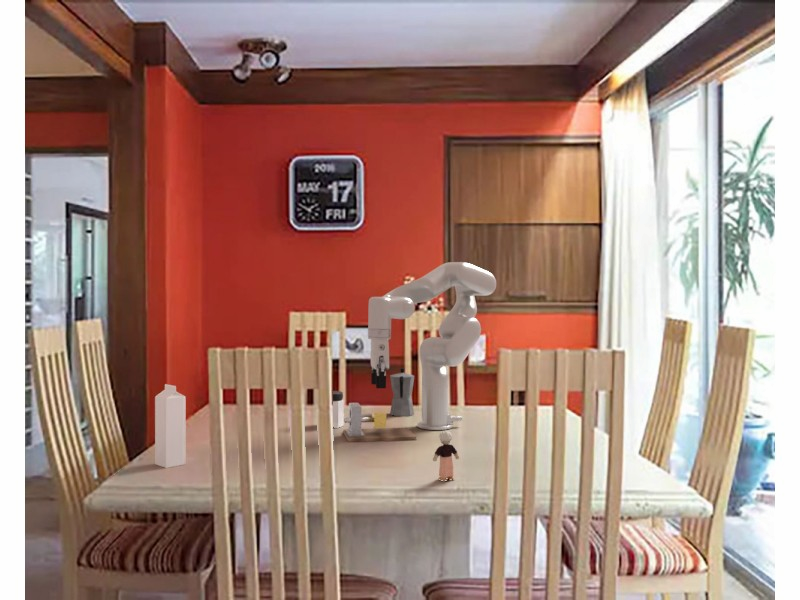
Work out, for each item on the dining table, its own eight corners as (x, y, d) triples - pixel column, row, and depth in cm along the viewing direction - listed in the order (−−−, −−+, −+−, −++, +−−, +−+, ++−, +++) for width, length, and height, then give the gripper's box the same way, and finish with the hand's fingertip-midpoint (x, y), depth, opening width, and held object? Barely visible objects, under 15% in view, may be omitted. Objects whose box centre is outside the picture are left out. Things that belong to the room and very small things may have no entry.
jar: (347, 426, 256) (348, 392, 256) (328, 429, 251) (328, 394, 251) (333, 423, 263) (333, 389, 263) (314, 425, 258) (314, 391, 258)
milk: (174, 460, 206) (175, 382, 206) (185, 464, 202) (186, 385, 201) (154, 464, 201) (154, 384, 201) (165, 468, 197) (166, 386, 197)
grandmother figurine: (450, 476, 192) (450, 427, 191) (460, 479, 189) (461, 430, 189) (428, 481, 187) (429, 431, 186) (439, 484, 184) (439, 434, 184)
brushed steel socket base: (360, 430, 245) (360, 402, 245) (364, 436, 235) (364, 407, 235) (345, 431, 244) (345, 402, 244) (349, 437, 234) (349, 407, 234)
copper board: (407, 430, 251) (407, 427, 251) (416, 439, 236) (416, 436, 236) (343, 432, 246) (343, 429, 246) (348, 442, 232) (348, 438, 232)
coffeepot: (390, 411, 288) (391, 365, 288) (414, 411, 288) (415, 366, 287) (388, 418, 273) (388, 370, 272) (413, 418, 272) (414, 370, 272)
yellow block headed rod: (383, 425, 244) (383, 410, 244) (386, 427, 239) (386, 413, 239) (342, 426, 241) (342, 411, 241) (344, 429, 237) (344, 414, 236)
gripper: (395, 336, 233) (394, 389, 233) (386, 332, 250) (385, 382, 250) (372, 335, 231) (371, 389, 231) (364, 332, 248) (363, 382, 248)
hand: (378, 386), depth 241 cm, fingers open, 9 cm apart
